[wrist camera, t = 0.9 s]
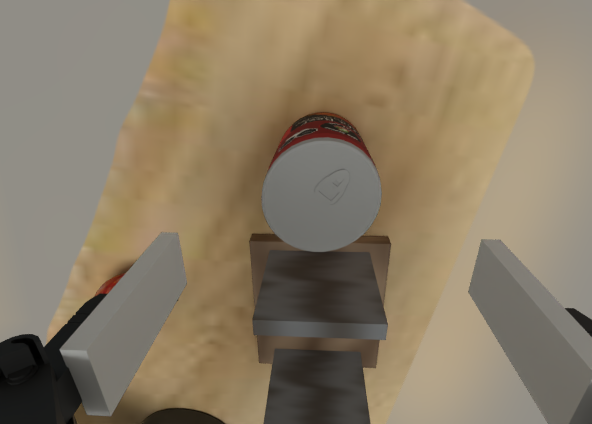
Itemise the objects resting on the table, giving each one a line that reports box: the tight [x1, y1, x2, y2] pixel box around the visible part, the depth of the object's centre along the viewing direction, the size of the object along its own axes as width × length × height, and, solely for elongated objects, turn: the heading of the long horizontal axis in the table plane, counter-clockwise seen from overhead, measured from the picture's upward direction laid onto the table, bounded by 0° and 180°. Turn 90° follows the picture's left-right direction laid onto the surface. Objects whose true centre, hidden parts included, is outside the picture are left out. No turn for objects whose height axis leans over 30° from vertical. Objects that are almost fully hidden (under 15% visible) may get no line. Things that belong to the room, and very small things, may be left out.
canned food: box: [262, 113, 382, 252], centre depth 27 cm, size 8×8×11 cm
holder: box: [250, 234, 391, 424], centre depth 34 cm, size 14×17×12 cm
